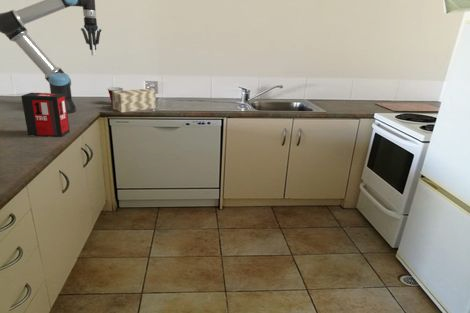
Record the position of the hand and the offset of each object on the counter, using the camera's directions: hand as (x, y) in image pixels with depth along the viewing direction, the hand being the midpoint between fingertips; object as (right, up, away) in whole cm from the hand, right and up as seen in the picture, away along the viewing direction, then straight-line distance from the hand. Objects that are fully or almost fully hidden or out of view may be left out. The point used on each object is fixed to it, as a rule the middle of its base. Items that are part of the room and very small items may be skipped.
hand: (93, 55), depth 224 cm
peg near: (+20, -33, +4) cm, 39 cm away
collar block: (+25, -35, +9) cm, 44 cm away
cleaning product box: (0, -57, -54) cm, 78 cm away
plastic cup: (+9, -31, +18) cm, 37 cm away
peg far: (+30, -30, +13) cm, 45 cm away
